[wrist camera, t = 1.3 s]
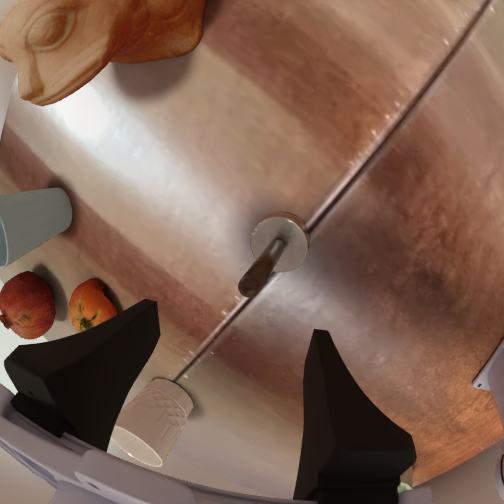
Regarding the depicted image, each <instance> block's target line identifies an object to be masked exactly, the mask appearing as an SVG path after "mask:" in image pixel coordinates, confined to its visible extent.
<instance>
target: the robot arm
mask: <svg viewBox="0 0 504 504" xmlns="http://www.w3.org/2000/svg"><path fill="white" fill-rule="evenodd" d="M160 335H161V334H160V326H159V317H158V308H157V301H153V300H148V299H144V300H142V301H140V302H139V303H137V304H135V305H133V306H131V307H130V308H128V309H126V310H125V311H123V312H121V313H119V314H117V315H116V316H114V317H112V318H110V319H108V320H106V321H104V322H102V323H100V324H98V325H96V326H94V327H92V328H90V329H87V330H85V331H82V332H80V333H77V334H74V335H71V336H68V337H64V338H61V339H58V340H53V341H49V342H43V343H37V344H28V345H19V346H18V347H17V348H16V349H15V350H14V351H13V352H12V353H11V354H10V355H9V356H8V357H7V358H6V359H5V361H4V366H5V370H6V372H7V374H8V375H9V377H10V379H11V380H12V382H13V384H14V386H15V387H16V389H17V391H18V393H17V394H16V395H14V394H13V393H12V392H11V391H10V390H9V389H7V388H6V387H4V386H3V385H2V384H0V446H1V447H2V448H3V449H4V450H5V451H7V452H8V453H9V454H10V455H11V456H13V457H14V458H15V459H16V460H17V461H19V462H20V463H21V464H22V465H24V466H25V467H26V468H28V469H29V470H30V471H32V472H33V473H34V474H36V475H37V476H38V477H40V478H41V479H43V480H44V481H45V482H47V483H48V484H50V485H51V486H53V487H54V488H56V489H57V490H56V492H55V494H54V495H53V497H52V499H51V501H50V503H49V504H433V499H432V492H431V487H423V488H417V489H410V490H405V491H402V492H399V493H398V487H397V486H400V484H401V480H400V476H401V475H402V474H403V473H404V472H405V471H407V470H408V469H409V468H410V467H411V466H412V465H413V463H414V462H415V461H416V458H417V456H416V451H415V446H414V442H413V439H412V436H411V435H410V434H409V433H407V432H406V431H405V430H403V429H402V428H400V427H399V426H398V425H396V424H395V423H394V422H393V421H391V420H390V419H389V418H388V417H387V416H386V415H384V414H383V413H382V412H381V411H380V410H379V409H378V408H377V407H376V406H375V405H374V404H373V403H372V402H371V401H370V399H369V398H368V397H367V396H366V395H365V394H364V392H363V391H362V390H361V388H360V387H359V386H358V384H357V383H356V381H355V380H354V378H353V377H352V375H351V374H350V372H349V371H348V369H347V367H346V366H345V364H344V362H343V360H342V358H341V357H340V355H339V353H338V351H337V349H336V347H335V345H334V342H333V340H332V338H331V336H330V333H329V332H328V331H326V330H318V329H314V331H313V335H312V339H311V342H310V346H309V350H308V353H307V357H306V360H305V367H304V378H303V399H304V430H303V439H302V448H301V455H300V462H299V469H298V475H297V481H296V486H295V491H294V496H293V500H289V499H278V498H269V497H261V496H254V495H247V494H241V493H236V492H231V491H225V490H220V489H216V488H211V487H207V486H203V485H199V484H195V483H191V482H187V481H184V480H180V479H176V478H174V477H170V476H167V475H163V474H161V473H158V472H155V471H152V470H149V469H146V468H143V467H141V466H138V465H135V464H133V463H130V462H128V461H125V460H123V459H120V458H118V457H116V456H113V455H111V454H109V453H106V452H107V448H108V445H109V441H110V438H111V435H112V432H113V429H114V426H115V423H116V421H117V418H118V416H119V413H120V411H121V408H122V406H123V404H124V401H125V399H126V397H127V395H128V393H129V391H130V389H131V387H132V385H133V383H134V382H135V380H136V379H137V377H138V375H139V374H140V372H141V371H142V369H143V367H144V366H145V364H146V363H147V361H148V359H149V358H150V356H151V355H152V353H153V351H154V349H155V347H156V344H157V342H158V340H159V337H160ZM472 386H473V388H477V389H482V390H486V391H491V392H492V395H493V398H494V401H495V404H496V406H497V409H498V412H499V416H500V419H501V422H502V425H503V429H504V339H503V341H502V342H501V344H500V345H499V347H498V348H497V350H496V351H495V353H494V354H493V356H492V357H491V359H490V360H489V361H488V363H487V364H486V365H485V367H484V368H483V369H482V371H481V372H480V373H479V375H478V376H477V377H476V379H475V380H474V381H473V383H472ZM501 446H502V449H503V454H502V455H501V456H500V457H499V458H498V460H497V463H496V468H495V484H496V488H497V491H498V493H499V495H500V497H501V498H502V499H503V500H504V443H503V444H502V445H501Z"/></svg>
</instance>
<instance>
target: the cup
mask: <svg viewBox="0 0 504 504" xmlns="http://www.w3.org/2000/svg"><path fill="white" fill-rule="evenodd" d="M71 221H72V206H71V202H70V199H69V197H68V195H67V194H66V192H65V191H64V190H63V189H61V188H59V187H57V188H48V189H41V190H33V191H26V192H20V193H14V194H7V195H0V268H5V267H7V266H8V265H10V264H11V263H13V262H14V261H16V260H17V259H19V258H20V257H22V256H23V255H25V254H27V253H28V252H30V251H31V250H33V249H35V248H36V247H38V246H40V245H41V244H43V243H44V242H46V241H48V240H49V239H51V238H53V237H55V236H56V235H58V234H60V233H61V232H63V231H65V230H66V229H67V228H68V227H69V226H70V224H71Z"/></svg>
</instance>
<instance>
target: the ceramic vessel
mask: <svg viewBox="0 0 504 504" xmlns="http://www.w3.org/2000/svg"><path fill="white" fill-rule="evenodd" d="M206 2H207V0H19V1H18V2H17V3H16V4H15V6H14V7H13V8H12V9H11V10H10V11H9V12H8V14H7V15H6V16H5V17H4V19H3V21H2V23H1V24H0V56H1V57H2V58H3V59H4V60H7V61H9V62H13V63H14V64H15V66H16V69H17V72H18V91H19V95H20V98H22V99H23V100H28V101H29V102H31V103H33V104H36V105H39V106H45V105H49V104H53V103H56V102H58V101H60V100H62V99H64V98H66V97H67V96H69V95H71V94H72V93H74V92H76V91H77V90H79V89H80V88H81V87H83V86H84V85H85V84H87V83H88V82H90V81H91V80H92V79H93V78H94V77H95V76H96V75H97V74H98V73H99V72H100V71H101V70H102V69H103V68H104V67H106V65H107V64H108V63H109V62H110V61H112V62H119V63H130V64H132V63H144V62H150V61H156V60H161V59H166V58H172V57H178V56H182V55H185V54H187V53H189V52H191V51H193V50H194V49H195V47H196V46H197V45H198V43H199V41H200V39H201V37H202V29H203V28H202V20H203V15H204V10H205V5H206Z"/></svg>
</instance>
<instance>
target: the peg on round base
mask: <svg viewBox="0 0 504 504" xmlns="http://www.w3.org/2000/svg"><path fill="white" fill-rule="evenodd" d="M309 246H310V235H309V231H308V229H307V227H306V225H305V224H304V223H303V222H302V221H301V220H300V219H299V218H298V217H296V216H295V215H292V214H290V213H285V212H278V213H273V214H271V215H269V216H267V217H266V218H264V219H263V220H262V221H261V222H260V223H259V224H258V225H257V226H256V227H255V229H254V230H253V232H252V235H251V250H252V253H253V255H254V257H255V258H256V261H255V262H254V264H253V265H252V266H251V267H250V269H249V270H248V271H247V272H246V273H245V275H244V276H243V277H242V278H241V280H240V281H239V284H238V289H239V291H240V293H241V294H242V295H243V296H245V297H254V296H256V295H257V294H258V293H259V291H260V290H261V288H262V286H263V285H264V283H265V282H266V280H267V278H268V277H269V275H270V274H271V272H272V271H274V272H288V271H291V270H293V269H295V268H297V267H298V266H299V265H300V264H301V263H302V262H303V261H304V259H305V257H306V254H307V252H308V249H309Z"/></svg>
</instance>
